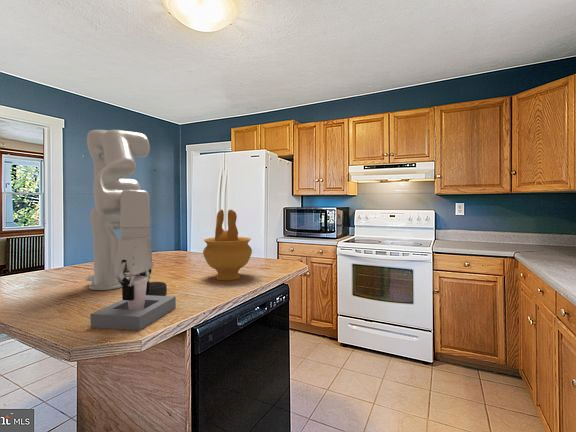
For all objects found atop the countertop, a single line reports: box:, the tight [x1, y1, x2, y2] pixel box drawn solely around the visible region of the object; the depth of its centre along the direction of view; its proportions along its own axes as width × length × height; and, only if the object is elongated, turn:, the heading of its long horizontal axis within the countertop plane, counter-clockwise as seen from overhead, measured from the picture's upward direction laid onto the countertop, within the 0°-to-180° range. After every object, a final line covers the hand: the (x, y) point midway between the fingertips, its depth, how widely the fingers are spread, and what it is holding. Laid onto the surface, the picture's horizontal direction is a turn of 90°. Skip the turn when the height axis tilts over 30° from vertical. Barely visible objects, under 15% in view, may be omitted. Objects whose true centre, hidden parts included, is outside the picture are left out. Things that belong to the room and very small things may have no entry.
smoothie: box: [127, 275, 149, 310], centre depth 90 cm, size 6×6×14 cm
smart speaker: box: [146, 281, 168, 296], centre depth 112 cm, size 9×9×4 cm
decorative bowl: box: [202, 209, 253, 281], centre depth 138 cm, size 21×21×30 cm
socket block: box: [89, 295, 177, 331], centre depth 90 cm, size 14×18×4 cm
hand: (136, 295), depth 90 cm, fingers closed on smoothie, 6 cm apart
